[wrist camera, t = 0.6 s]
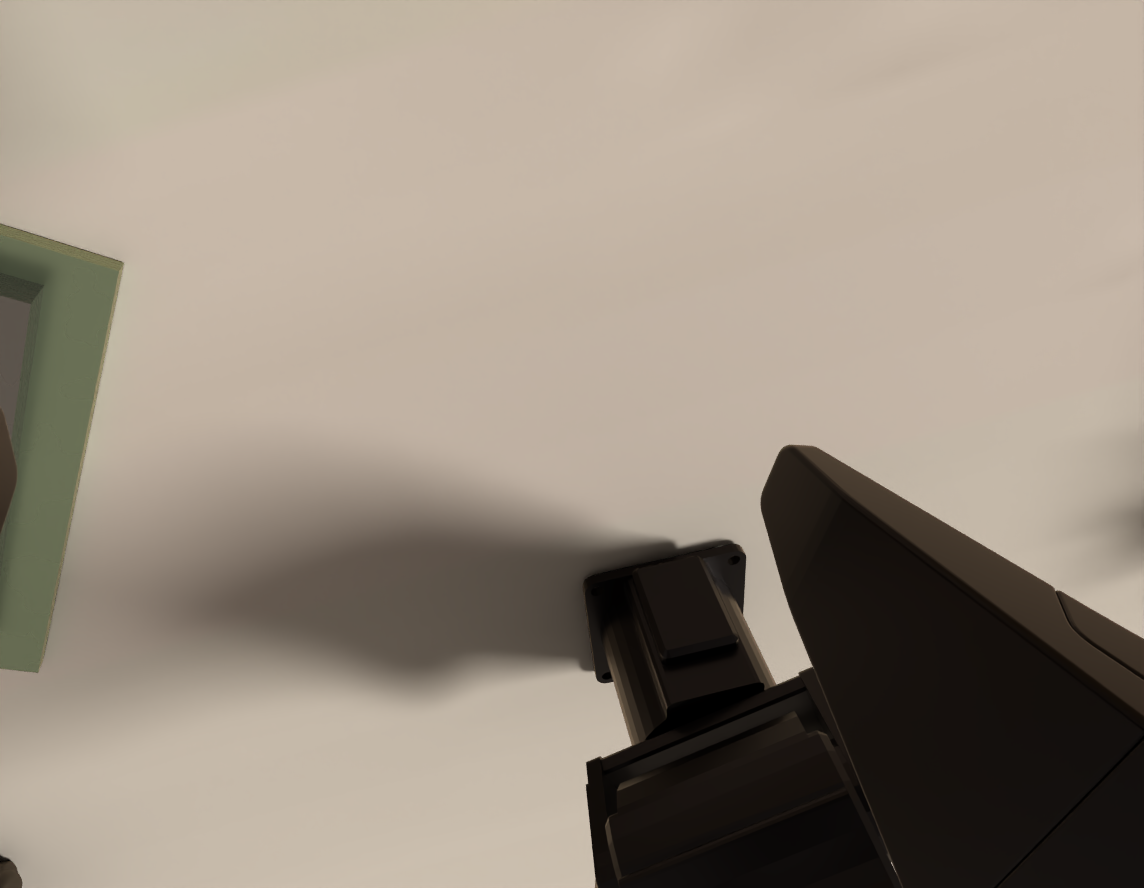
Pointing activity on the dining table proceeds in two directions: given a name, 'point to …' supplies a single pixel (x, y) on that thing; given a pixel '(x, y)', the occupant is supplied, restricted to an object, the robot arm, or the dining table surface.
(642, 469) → the dining table surface
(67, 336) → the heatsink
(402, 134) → the dining table surface
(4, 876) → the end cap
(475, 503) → the dining table surface
